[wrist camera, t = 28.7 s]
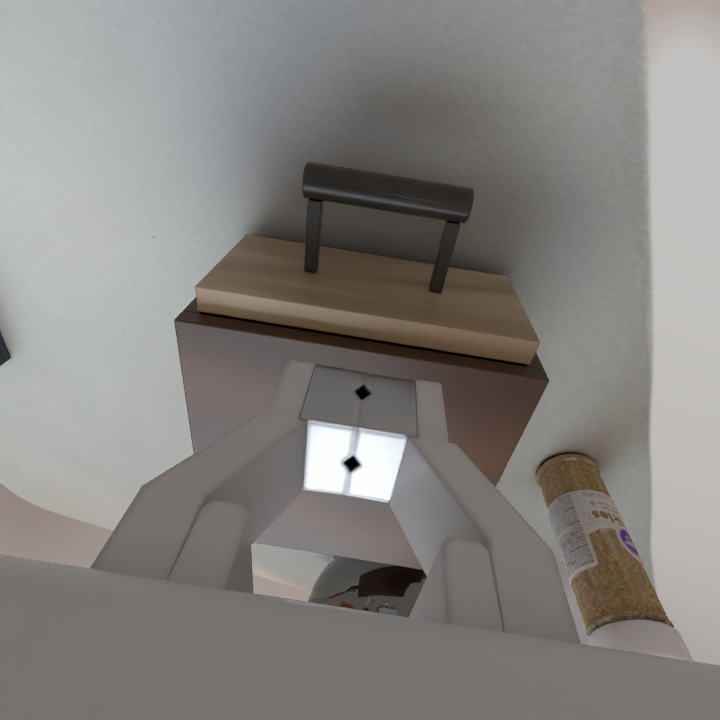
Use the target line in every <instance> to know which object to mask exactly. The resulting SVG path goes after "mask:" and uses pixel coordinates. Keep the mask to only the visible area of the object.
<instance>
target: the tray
mask: <svg viewBox="0 0 720 720" xmlns="http://www.w3.org/2000/svg"><path fill="white" fill-rule="evenodd" d="M9 359H10V356H9V353H8V351H7V349H6V347H5V344H4V342H3V340H2V337H1V335H0V366H1V365H2V364H3V363H5V362H6V361H8V360H9Z"/></svg>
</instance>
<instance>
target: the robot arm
mask: <svg viewBox="0 0 720 720" xmlns="http://www.w3.org/2000/svg"><path fill="white" fill-rule="evenodd" d="M302 490H309V491H317V492H325V493H332V494H340V495H347V496H353V497H358V498H364V499H369V500H375V501H380V502H386V503H390V507H391V509H392V511H393V513H394V515H395V517H396V518H397V520H398V522H399V524H400V526H401V528H402V530H403V532H404V534H405V536H406V538H407V540H408V541H409V543H410V545H411V547H412V549H413V551H414V553H415V555H416V557H417V559H418V561H419V562H420V564H421V566H422V568H423V570H424V572H425V574H426V576H427V578H426V580H425V583H424V585H423V587H422V589H421V591H420V594H419V596H418V598H417V600H416V602H415V605H414V607H413V609H412V611H411V614H410V616H409V617H403V616H396V615H390V614H383V613H377V612H370V611H364V610H357V609H351V608H344V607H338V606H331V605H325V604H318V603H312V602H305V601H298V600H292V599H285V598H279V597H272V596H266V595H260V594H253V576H252V555H251V545H252V544H253V543H254V542H255V541H256V539H257V538H258V537H259V536H260V535H261V534H262V533H263V532H264V531H265V530H266V529H267V528H268V527H269V526H270V525H271V524H272V523H273V522H274V521H275V520H276V519H277V518H278V517H279V516H280V515H281V514H282V513H283V512H284V511H285V510H286V509H287V508H288V506H289V505H290V504H291V503H292V502H293V501H294V500H295V499H296V498H297V497H298V496H299V495H300V494H301V493H302ZM0 720H720V665H713V664H707V663H701V662H694V661H688V660H681V659H675V658H668V657H662V656H655V655H649V654H642V653H636V652H629V651H623V650H616V649H610V648H603V647H597V646H590V645H584V644H581V643H580V640H579V637H578V633H577V630H576V627H575V624H574V620H573V617H572V614H571V610H570V607H569V604H568V601H567V597H566V594H565V591H564V587H563V584H562V581H561V578H560V574H559V571H558V568H557V564H556V561H555V558H554V555H553V551H552V550H551V549H550V547H549V546H548V545H547V544H546V543H545V542H544V541H543V540H542V539H541V537H540V536H539V535H538V534H537V533H536V532H535V531H534V530H533V529H532V527H531V526H530V525H529V524H528V523H527V522H526V521H525V520H524V519H523V517H522V516H521V515H520V514H519V513H518V512H517V511H516V510H515V509H514V507H513V506H512V505H511V504H510V503H509V502H508V501H507V500H506V498H505V497H504V496H503V495H502V494H501V493H500V492H499V491H498V490H497V488H496V487H495V486H494V485H493V484H492V483H491V482H490V481H489V480H488V478H487V477H486V476H485V475H484V474H483V473H482V472H481V471H480V470H479V468H478V467H477V466H476V465H475V464H474V463H473V462H472V461H471V460H470V458H469V457H468V456H467V455H466V454H465V453H464V452H463V451H462V450H461V448H460V447H459V446H458V445H457V444H454V443H449V442H448V433H447V425H446V417H445V409H444V401H443V393H442V386H441V384H440V383H439V382H431V381H423V380H416V379H415V380H410V379H403V378H396V377H390V376H383V375H376V374H370V373H365V372H360V371H354V370H349V369H343V368H338V367H332V366H326V365H321V364H314V363H308V362H302V361H296V360H291V361H290V362H289V363H288V364H287V367H286V369H285V372H284V374H283V377H282V379H281V382H280V384H279V387H278V389H277V392H276V394H275V397H274V399H273V402H272V404H271V407H270V410H269V412H268V415H267V414H258V415H256V416H255V417H253V418H251V419H250V420H248V421H247V422H245V423H243V424H242V425H240V426H239V427H237V428H235V429H234V430H232V431H230V432H229V433H227V434H226V435H224V436H222V437H221V438H219V439H218V440H216V441H214V442H213V443H211V444H209V445H208V446H206V447H205V448H203V449H201V450H200V451H198V452H196V453H195V454H193V455H192V456H190V457H188V458H187V459H185V460H184V461H182V462H180V463H179V464H177V465H175V466H174V467H172V468H171V469H169V470H167V471H166V472H164V473H162V474H161V475H159V476H158V477H156V478H154V479H153V480H151V481H150V482H148V483H146V484H145V485H143V486H142V487H141V489H140V490H139V492H138V493H137V495H136V497H135V498H134V500H133V501H132V503H131V504H130V506H129V508H128V509H127V511H126V512H125V514H124V515H123V517H122V519H121V520H120V522H119V523H118V525H117V527H116V528H115V530H114V531H113V533H112V535H111V536H110V538H109V539H108V541H107V543H106V544H105V546H104V547H103V549H102V550H101V552H100V553H99V555H98V557H97V558H96V560H95V561H94V563H93V564H92V566H91V568H84V567H77V566H71V565H64V564H58V563H51V562H45V561H38V560H32V559H25V558H19V557H12V556H5V555H0Z"/></svg>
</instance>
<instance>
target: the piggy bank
mask: <svg viewBox="0 0 720 720" xmlns="http://www.w3.org/2000/svg"><path fill="white" fill-rule="evenodd" d="M426 578H427V576H426V574H425V572H424V570H421V569H415V568H409V567H403V566H396V565H390V564H384V563H378V562H372V561H365V560H359V559H353V558H347V557H340V556H334V559H333V561H332V562H331V563H330V564H329V565H328V566H327V567H326V568H325V569H324V570H323V571H322V573H321V574H320V576H319V577H318V579H317V581H316V583H315V585H314V587H313V589H312V592H311V594H310V597H309V601H308V602H312V603H318V604H325V605H331V606H338V607H344V608H351V609H357V610H364V611H370V612H377V613H383V614H390V615H396V616H403V617H409V616H410V614H411V611H412V609H413V607H414V605H415V602H416V600H417V598H418V596H419V594H420V591H421V589H422V587H423V585H424V583H425V580H426Z"/></svg>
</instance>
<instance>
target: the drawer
mask: <svg viewBox="0 0 720 720" xmlns="http://www.w3.org/2000/svg"><path fill="white" fill-rule="evenodd" d="M302 191H303V196H304V197H305V198H309V200H308V209H307V226H306V244H304V243H298V242H292V241H286V240H280V239H273V238H267V237H261V236H255V235H249V234H247V235H246V236H245V237H244V238H243V239H242V240H241V241H240V242H239V243H238V244H237V245H236V246H235V247H234V248H233V249H232V250H231V251H230V252H229V253H228V254H227V255H226V256H225V257H224V258H223V259H222V260H221V261H220V262H219V263H218V264H217V265H216V266H215V267H214V268H213V269H212V270H211V271H210V272H209V273H208V274H207V275H206V276H205V277H204V278H203V279H202V280H201V281H200V282H199V283H198V284H197V285H196V286H195V290H196V299H197V309H198V311H200V312H206V313H212V314H219V315H225V316H231V317H232V319H234V320H240V321H246V322H252V323H259V324H265V325H271V326H277V327H283V328H290V329H296V330H302V331H308V332H314V333H320V334H327V335H333V336H339V337H345V338H351V339H357V340H364V341H370V342H376V343H382V344H388V345H395V346H401V347H407V348H413V349H419V350H425V351H432V352H438V353H444V354H450V355H456V356H463V357H469V358H475V359H481V360H487V361H493V362H495V359H497V360H503V361H509V362H515V363H521V364H527V365H530V363H531V361H532V359H533V357H534V355H535V352H536V350H537V348H538V346H539V344H540V341H539V339H538V337H537V335H536V333H535V331H534V329H533V327H532V325H531V323H530V321H529V319H528V317H527V315H526V313H525V311H524V309H523V307H522V305H521V303H520V301H519V299H518V297H517V295H516V293H515V291H514V289H513V287H512V285H511V283H510V281H509V279H508V277H507V276H502V275H495V274H489V273H483V272H477V271H471V270H465V269H458V268H452V267H449V265H450V261H451V257H452V253H453V250H454V246H455V242H456V239H457V235H458V231H459V228H460V223H466V222H467V220H468V218H469V215H470V212H471V209H472V205H473V199H474V190H473V189H472V188H466V187H460V186H453V185H447V184H441V183H435V182H429V181H423V180H417V179H410V178H404V177H398V176H392V175H386V174H380V173H374V172H367V171H361V170H355V169H349V168H343V167H337V166H330V165H324V164H318V163H312V162H307V163H306V165H305V168H304V173H303V182H302ZM324 201H328V202H335V203H341V204H347V205H353V206H359V207H365V208H371V209H378V210H384V211H390V212H396V213H402V214H408V215H415V216H421V217H427V218H433V219H439V220H445V224H444V228H443V232H442V236H441V240H440V244H439V248H438V252H437V256H436V260H435V264H428V263H421V262H415V261H409V260H403V259H397V258H391V257H384V256H378V255H372V254H366V253H360V252H354V251H347V250H341V249H335V248H329V247H323V246H320V240H321V227H322V215H323V202H324Z"/></svg>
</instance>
